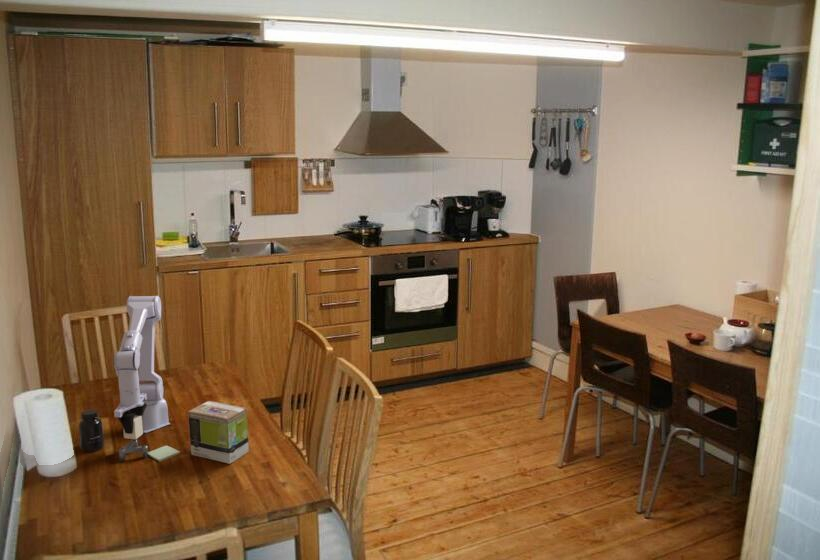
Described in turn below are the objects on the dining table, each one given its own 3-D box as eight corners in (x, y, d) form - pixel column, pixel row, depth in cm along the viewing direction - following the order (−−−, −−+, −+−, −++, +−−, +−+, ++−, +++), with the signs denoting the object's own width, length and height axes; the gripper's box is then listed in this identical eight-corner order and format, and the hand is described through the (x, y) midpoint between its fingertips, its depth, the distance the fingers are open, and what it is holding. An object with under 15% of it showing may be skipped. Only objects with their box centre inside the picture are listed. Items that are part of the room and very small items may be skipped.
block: (131, 432, 233) (129, 414, 231) (143, 433, 232) (141, 415, 231) (124, 438, 229) (122, 419, 228) (135, 439, 228) (134, 421, 227)
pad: (166, 446, 234) (166, 445, 234) (179, 453, 230) (179, 451, 230) (146, 454, 229) (146, 453, 229) (159, 461, 225) (159, 459, 224)
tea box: (250, 451, 232) (247, 407, 228) (229, 465, 223) (226, 419, 219) (211, 442, 238) (208, 398, 234) (189, 455, 229) (186, 410, 225)
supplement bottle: (95, 453, 230) (92, 417, 227) (76, 451, 231) (72, 415, 228) (108, 443, 236) (105, 408, 233) (89, 441, 238) (86, 406, 235)
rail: (136, 448, 233) (135, 438, 232) (151, 456, 228) (150, 445, 227) (113, 457, 227) (112, 446, 226) (128, 465, 222) (127, 454, 221)
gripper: (127, 398, 219) (131, 441, 222) (154, 381, 233) (157, 421, 236) (106, 396, 221) (110, 439, 224) (133, 379, 234) (137, 419, 238)
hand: (133, 429), depth 230 cm, fingers closed on block, 4 cm apart
